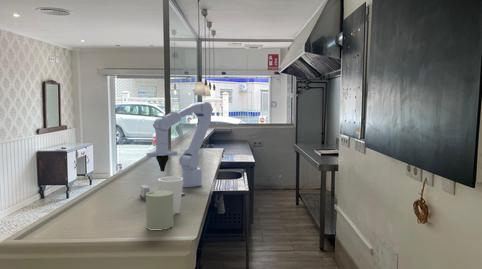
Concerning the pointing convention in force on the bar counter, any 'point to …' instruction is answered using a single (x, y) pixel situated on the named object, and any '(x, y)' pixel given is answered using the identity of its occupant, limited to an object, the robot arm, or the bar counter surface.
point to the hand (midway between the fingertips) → (162, 171)
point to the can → (159, 209)
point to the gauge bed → (146, 189)
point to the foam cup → (172, 189)
